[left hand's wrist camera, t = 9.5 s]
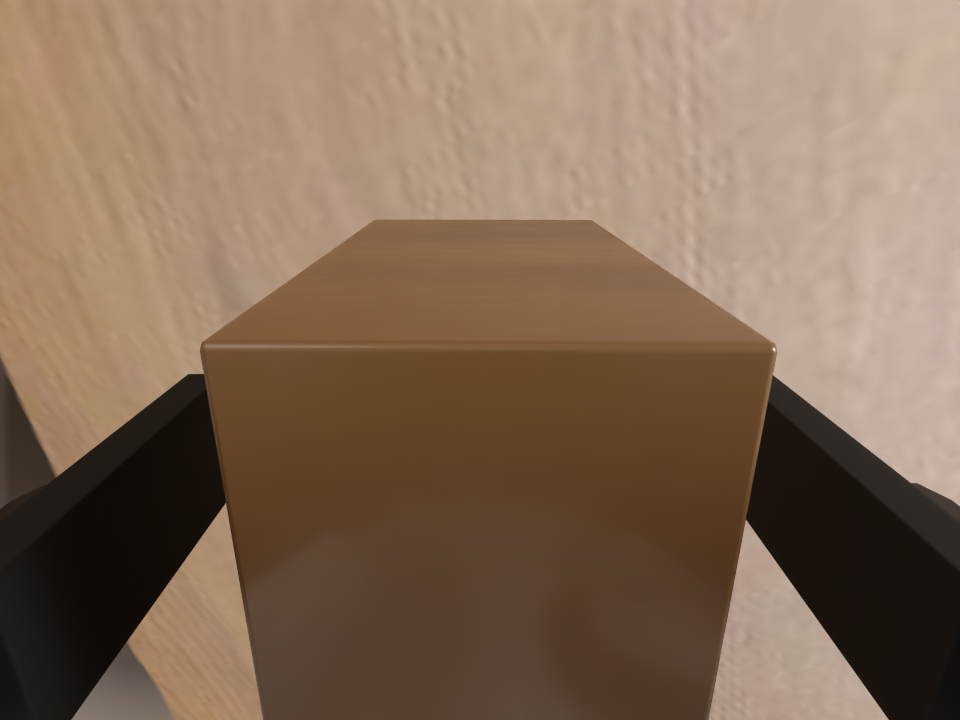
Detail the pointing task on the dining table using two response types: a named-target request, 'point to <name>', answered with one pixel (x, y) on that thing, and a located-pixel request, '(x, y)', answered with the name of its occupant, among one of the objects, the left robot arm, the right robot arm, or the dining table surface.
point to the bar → (486, 476)
